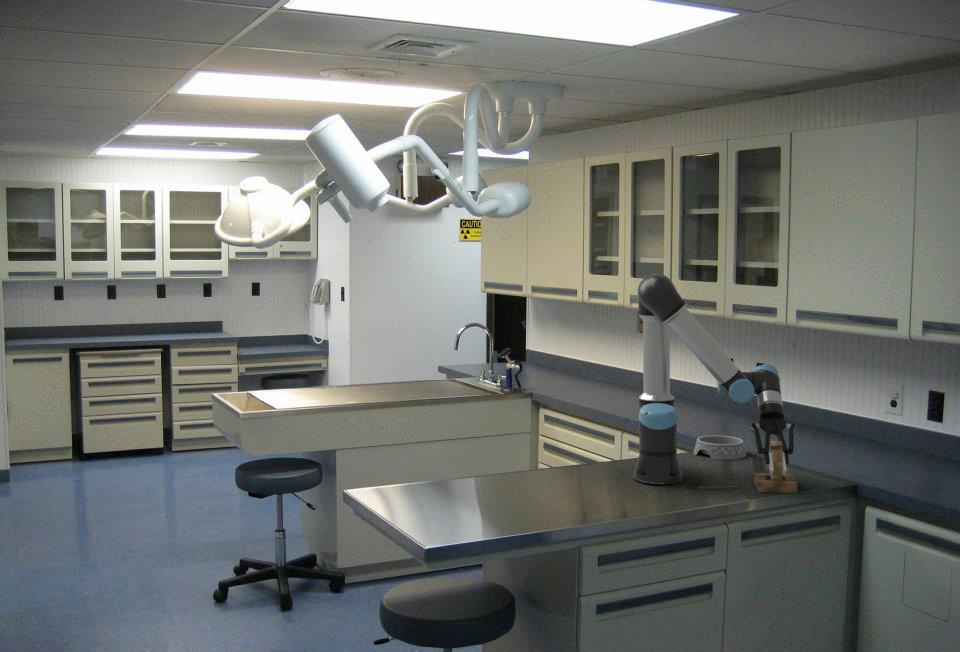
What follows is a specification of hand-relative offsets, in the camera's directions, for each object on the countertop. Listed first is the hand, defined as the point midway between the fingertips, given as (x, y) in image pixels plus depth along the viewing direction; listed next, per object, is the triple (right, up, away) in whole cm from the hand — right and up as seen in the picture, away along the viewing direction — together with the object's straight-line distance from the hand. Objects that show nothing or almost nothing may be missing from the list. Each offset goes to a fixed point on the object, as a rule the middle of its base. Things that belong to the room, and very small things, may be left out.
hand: (778, 472), depth 274 cm
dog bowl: (-4, -2, +50) cm, 50 cm away
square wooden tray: (0, -5, +4) cm, 7 cm away
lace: (-17, -6, +4) cm, 18 cm away
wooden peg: (+1, -3, +4) cm, 5 cm away
